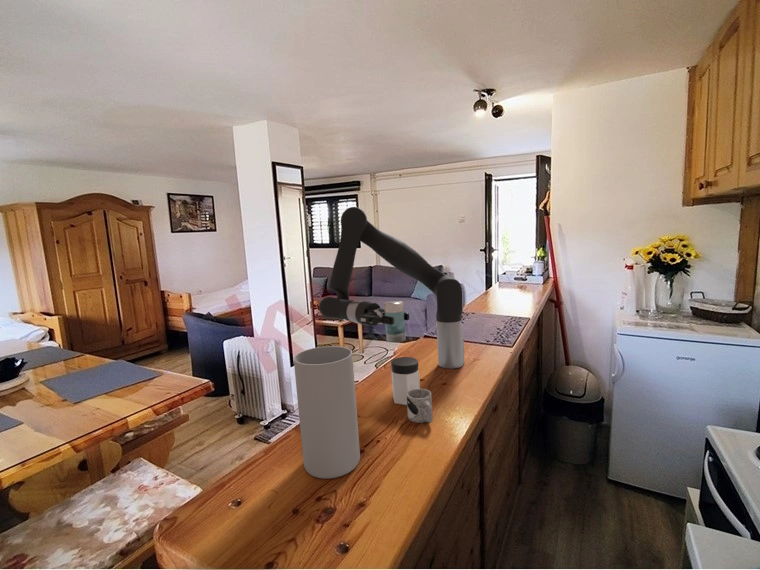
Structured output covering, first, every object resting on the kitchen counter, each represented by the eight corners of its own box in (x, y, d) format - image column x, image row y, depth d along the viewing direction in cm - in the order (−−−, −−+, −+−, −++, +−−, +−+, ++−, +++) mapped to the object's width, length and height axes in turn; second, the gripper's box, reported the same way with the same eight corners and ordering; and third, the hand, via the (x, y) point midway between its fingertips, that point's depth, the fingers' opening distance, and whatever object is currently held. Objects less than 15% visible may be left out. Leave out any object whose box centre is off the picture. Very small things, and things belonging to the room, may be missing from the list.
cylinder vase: (306, 486, 75) (295, 368, 72) (301, 453, 87) (292, 351, 84) (366, 472, 79) (357, 359, 76) (353, 442, 91) (346, 343, 88)
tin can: (396, 335, 113) (393, 300, 112) (409, 338, 109) (407, 302, 108) (382, 340, 110) (379, 303, 108) (396, 343, 105) (393, 305, 104)
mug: (403, 414, 103) (402, 391, 103) (425, 409, 106) (424, 386, 105) (420, 431, 94) (419, 406, 93) (443, 424, 96) (442, 400, 96)
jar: (402, 408, 107) (400, 368, 105) (386, 399, 114) (384, 361, 112) (426, 399, 112) (424, 361, 110) (409, 390, 119) (407, 354, 117)
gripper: (344, 305, 114) (381, 310, 101) (379, 297, 123) (417, 301, 111) (346, 328, 115) (383, 337, 102) (381, 319, 124) (418, 326, 112)
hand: (400, 318), depth 107 cm, fingers closed on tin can, 5 cm apart
